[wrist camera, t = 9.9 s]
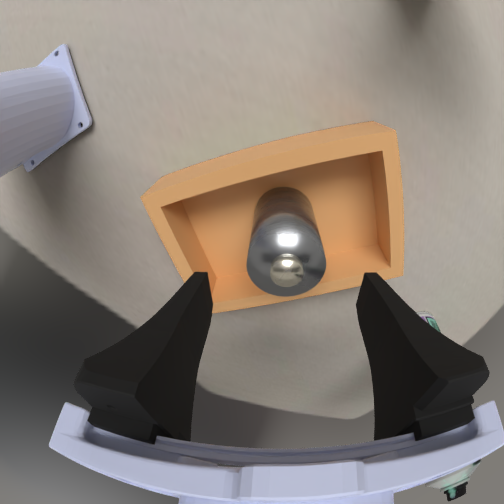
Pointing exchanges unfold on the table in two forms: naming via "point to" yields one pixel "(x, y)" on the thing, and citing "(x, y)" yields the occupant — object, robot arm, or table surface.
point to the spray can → (458, 479)
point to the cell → (285, 244)
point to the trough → (298, 177)
